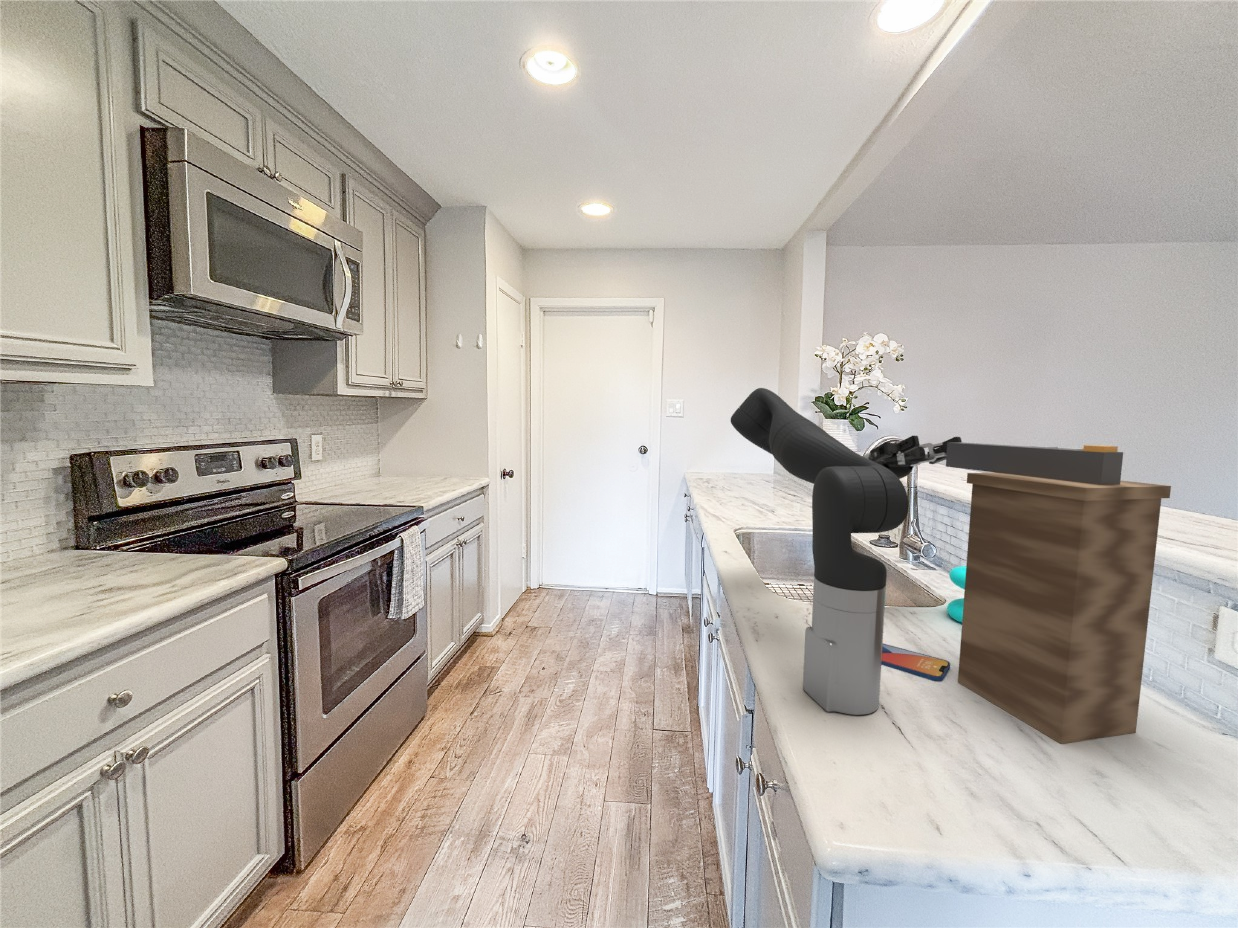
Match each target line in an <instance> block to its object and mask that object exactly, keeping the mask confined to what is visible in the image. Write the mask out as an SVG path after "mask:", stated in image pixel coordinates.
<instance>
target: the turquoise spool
mask: <svg viewBox="0 0 1238 928" xmlns="http://www.w3.org/2000/svg"><path fill="white" fill-rule="evenodd" d="M965 578H966V565H964V566H963V565H962V566H956V567H954V568H952V569H951V570H950V572H949V579H950V581H951V582H952V583H953V584H954V585H955V586H956V587H959V588H960V589H961V590H964V591H965ZM963 605H964V597H961V598H957V599H953V600H952V601H951V600H950V602H948V605H947V606H946V610H947V611H946V612H947V614H948V615H949V616H950V617H951V618H952V619H953V620H955V621H957V622H958V623H961V624H962V618H963Z"/></svg>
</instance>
